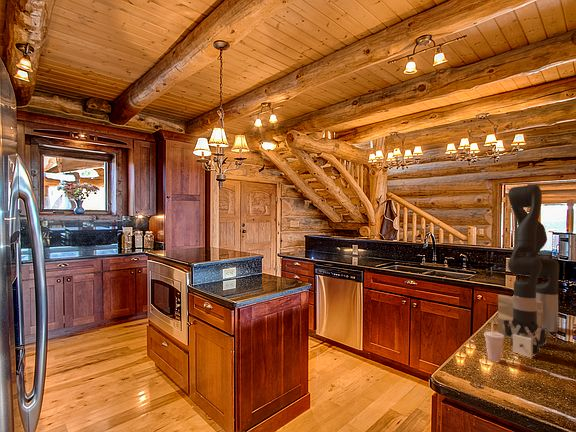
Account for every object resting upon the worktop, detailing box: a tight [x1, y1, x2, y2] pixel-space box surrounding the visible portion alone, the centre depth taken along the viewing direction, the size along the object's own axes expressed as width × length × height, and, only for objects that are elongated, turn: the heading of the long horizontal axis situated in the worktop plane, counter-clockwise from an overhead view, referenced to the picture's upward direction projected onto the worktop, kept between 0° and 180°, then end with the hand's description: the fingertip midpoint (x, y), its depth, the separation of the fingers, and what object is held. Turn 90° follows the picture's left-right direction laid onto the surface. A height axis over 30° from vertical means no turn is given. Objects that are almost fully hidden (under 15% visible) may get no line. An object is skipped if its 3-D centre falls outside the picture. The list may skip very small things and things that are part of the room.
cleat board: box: [497, 294, 548, 347], centre depth 140 cm, size 8×16×18 cm, turn 34°
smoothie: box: [484, 321, 505, 362], centre depth 120 cm, size 6×6×14 cm
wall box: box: [512, 333, 538, 359], centre depth 126 cm, size 9×6×7 cm
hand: (524, 350), depth 125 cm, fingers closed on wall box, 6 cm apart
